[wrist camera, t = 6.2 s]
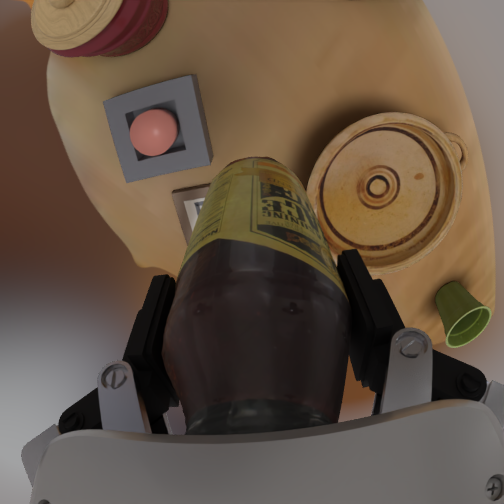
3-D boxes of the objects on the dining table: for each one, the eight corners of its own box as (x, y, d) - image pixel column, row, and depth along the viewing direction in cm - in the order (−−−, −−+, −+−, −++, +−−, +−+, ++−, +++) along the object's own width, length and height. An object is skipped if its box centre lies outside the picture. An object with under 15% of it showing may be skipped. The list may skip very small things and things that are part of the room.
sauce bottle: (317, 210, 20) (426, 545, 4) (240, 250, 22) (239, 570, 6) (269, 127, 17) (399, 613, 1) (186, 179, 19) (68, 559, 2)
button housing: (196, 74, 34) (191, 74, 31) (213, 156, 41) (210, 164, 37) (114, 97, 35) (102, 101, 32) (135, 173, 42) (126, 183, 38)
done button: (174, 102, 34) (168, 105, 32) (183, 144, 37) (179, 150, 35) (133, 114, 34) (124, 118, 32) (143, 153, 38) (136, 160, 35)
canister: (76, 3, 26) (-2, -10, 11) (156, -39, 24) (106, -86, 9) (98, 72, 33) (20, 85, 18) (182, 33, 31) (137, 10, 16)
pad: (281, 172, 42) (282, 175, 41) (290, 252, 50) (291, 257, 49) (173, 190, 44) (171, 194, 42) (196, 265, 51) (195, 270, 50)
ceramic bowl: (330, 277, 53) (340, 308, 47) (247, 173, 42) (247, 195, 36) (462, 193, 44) (487, 214, 37) (411, 67, 33) (441, 71, 26)
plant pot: (473, 268, 53) (499, 302, 44) (458, 307, 60) (478, 341, 51) (433, 275, 54) (458, 313, 45) (419, 315, 61) (438, 353, 51)
